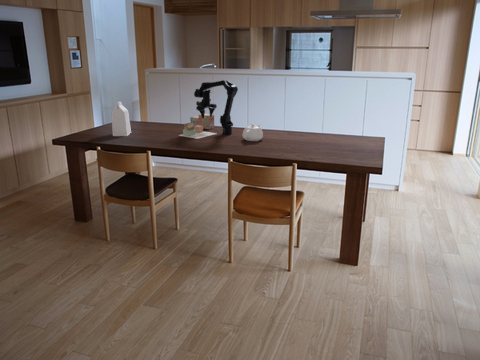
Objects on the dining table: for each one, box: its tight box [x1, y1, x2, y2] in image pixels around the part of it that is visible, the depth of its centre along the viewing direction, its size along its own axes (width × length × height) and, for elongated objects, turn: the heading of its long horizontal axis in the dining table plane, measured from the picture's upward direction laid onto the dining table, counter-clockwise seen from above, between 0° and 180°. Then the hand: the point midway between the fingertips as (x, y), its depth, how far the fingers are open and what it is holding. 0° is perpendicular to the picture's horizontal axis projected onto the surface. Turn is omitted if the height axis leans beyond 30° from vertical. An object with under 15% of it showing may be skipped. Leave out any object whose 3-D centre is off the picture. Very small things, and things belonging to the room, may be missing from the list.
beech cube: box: [183, 122, 194, 131], centre depth 327 cm, size 5×5×5 cm
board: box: [178, 130, 218, 140], centre depth 330 cm, size 20×24×1 cm
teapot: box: [242, 123, 264, 142], centre depth 313 cm, size 25×16×12 cm, turn 153°
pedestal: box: [182, 129, 196, 136], centre depth 329 cm, size 7×7×4 cm
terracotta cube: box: [194, 125, 204, 133], centre depth 338 cm, size 5×5×5 cm
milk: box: [111, 101, 132, 137], centre depth 330 cm, size 12×12×26 cm
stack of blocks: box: [189, 113, 215, 130], centre depth 356 cm, size 21×6×12 cm, turn 57°
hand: (206, 117), depth 339 cm, fingers open, 9 cm apart
